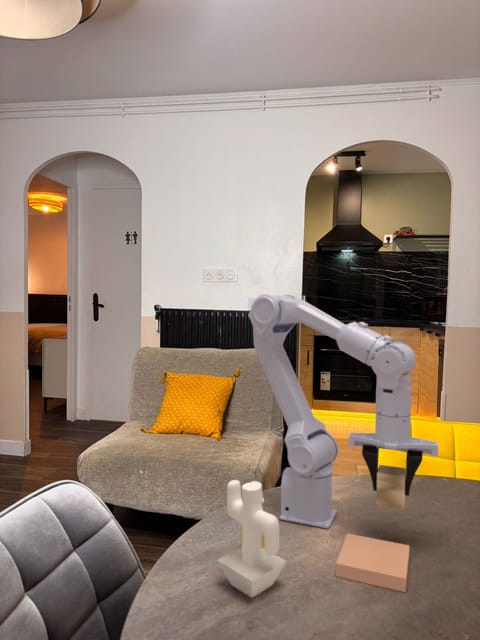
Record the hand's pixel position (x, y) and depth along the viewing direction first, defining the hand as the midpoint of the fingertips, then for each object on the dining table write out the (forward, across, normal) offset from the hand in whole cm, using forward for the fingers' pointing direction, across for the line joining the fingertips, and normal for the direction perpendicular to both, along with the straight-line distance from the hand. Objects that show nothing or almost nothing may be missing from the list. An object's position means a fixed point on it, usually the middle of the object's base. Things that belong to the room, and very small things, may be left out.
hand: (391, 491), depth 82 cm
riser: (+9, -2, -9) cm, 13 cm away
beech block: (+2, 0, 0) cm, 2 cm away
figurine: (+9, -18, -21) cm, 29 cm away
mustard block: (+7, -22, -11) cm, 26 cm away
